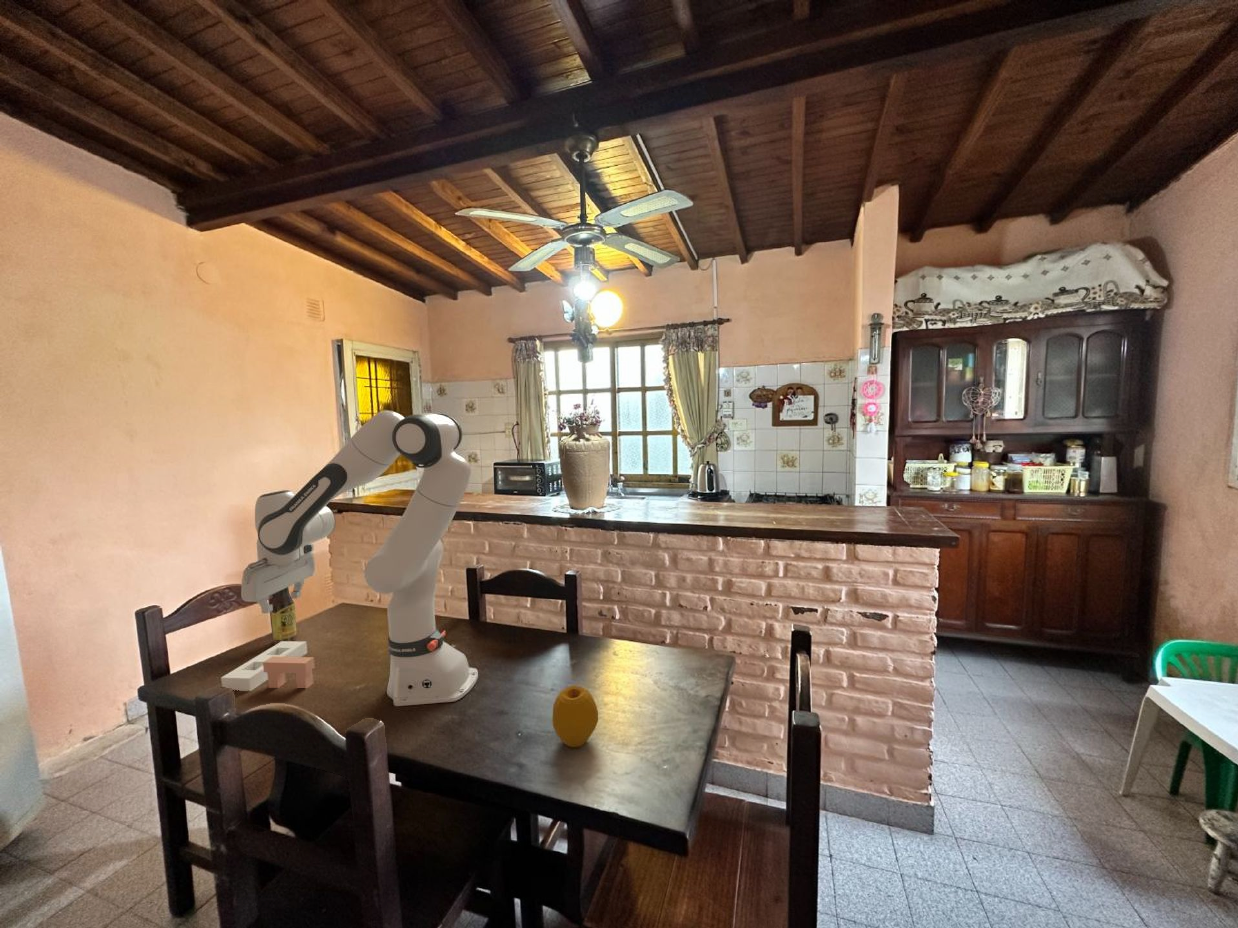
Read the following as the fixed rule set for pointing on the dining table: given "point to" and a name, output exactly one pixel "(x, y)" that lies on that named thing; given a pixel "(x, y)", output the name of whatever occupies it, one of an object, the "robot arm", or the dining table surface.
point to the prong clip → (289, 670)
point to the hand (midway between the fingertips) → (282, 604)
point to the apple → (574, 715)
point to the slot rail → (261, 666)
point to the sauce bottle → (283, 617)
